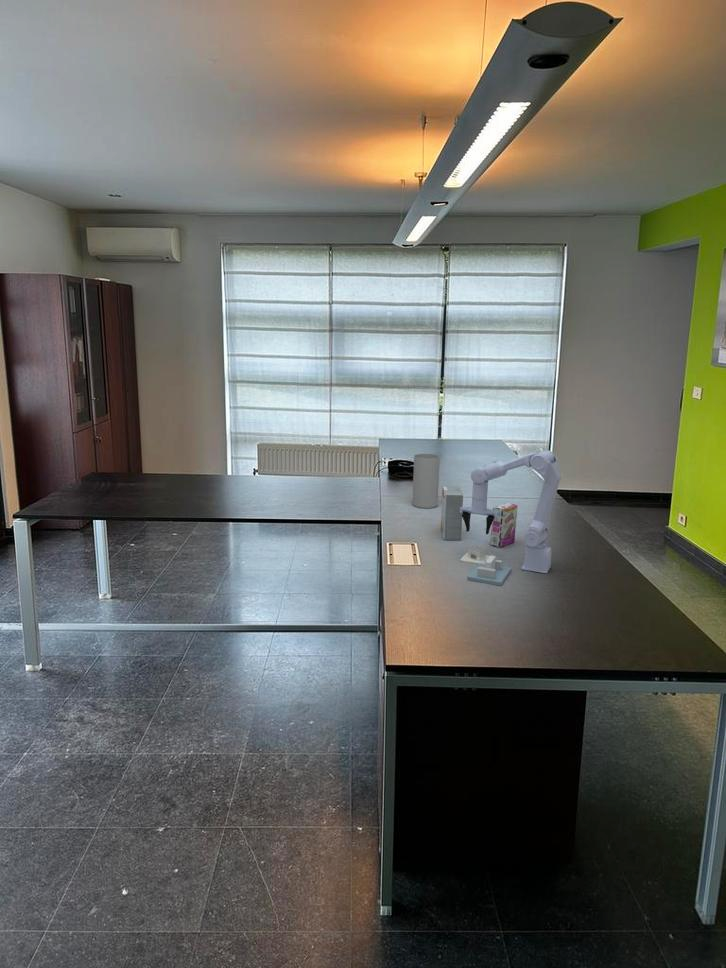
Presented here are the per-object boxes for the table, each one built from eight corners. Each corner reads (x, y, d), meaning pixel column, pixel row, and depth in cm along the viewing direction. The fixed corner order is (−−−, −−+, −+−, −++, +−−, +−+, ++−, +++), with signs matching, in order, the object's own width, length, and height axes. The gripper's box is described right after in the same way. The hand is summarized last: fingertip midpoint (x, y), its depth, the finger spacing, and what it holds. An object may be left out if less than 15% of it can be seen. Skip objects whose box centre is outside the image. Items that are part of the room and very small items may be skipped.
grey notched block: (485, 558, 260) (485, 549, 259) (479, 561, 257) (480, 551, 256) (473, 555, 264) (473, 546, 263) (467, 557, 261) (467, 548, 260)
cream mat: (492, 557, 263) (492, 556, 263) (485, 565, 254) (485, 564, 254) (467, 553, 267) (467, 552, 267) (459, 560, 258) (459, 559, 258)
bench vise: (511, 571, 248) (512, 555, 247) (500, 585, 234) (502, 568, 233) (479, 565, 253) (479, 550, 252) (467, 580, 239) (468, 563, 237)
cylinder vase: (431, 501, 344) (433, 453, 339) (441, 507, 333) (443, 458, 327) (408, 503, 340) (410, 454, 335) (418, 509, 329) (420, 459, 323)
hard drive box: (440, 529, 298) (442, 485, 293) (457, 529, 297) (459, 485, 293) (443, 540, 282) (445, 494, 278) (461, 540, 282) (463, 494, 278)
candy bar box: (500, 548, 273) (502, 509, 270) (489, 545, 277) (492, 507, 273) (515, 542, 281) (518, 504, 277) (505, 539, 284) (507, 502, 281)
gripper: (500, 498, 260) (498, 532, 263) (464, 494, 266) (462, 527, 269) (496, 502, 254) (494, 537, 257) (459, 498, 259) (457, 531, 262)
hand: (477, 532), depth 262 cm, fingers open, 7 cm apart
